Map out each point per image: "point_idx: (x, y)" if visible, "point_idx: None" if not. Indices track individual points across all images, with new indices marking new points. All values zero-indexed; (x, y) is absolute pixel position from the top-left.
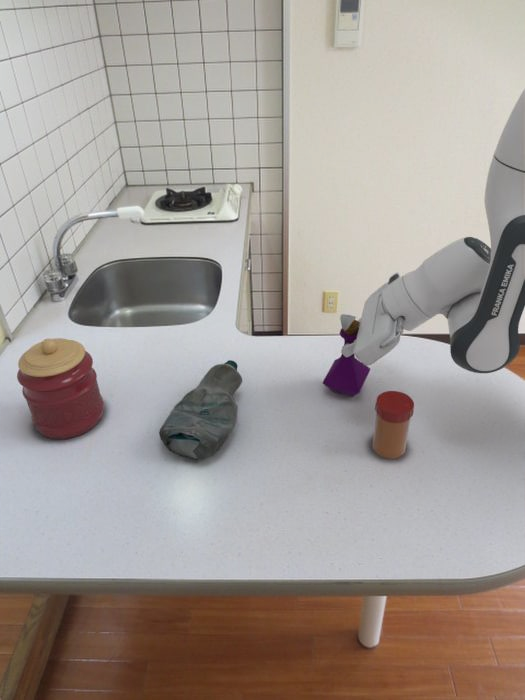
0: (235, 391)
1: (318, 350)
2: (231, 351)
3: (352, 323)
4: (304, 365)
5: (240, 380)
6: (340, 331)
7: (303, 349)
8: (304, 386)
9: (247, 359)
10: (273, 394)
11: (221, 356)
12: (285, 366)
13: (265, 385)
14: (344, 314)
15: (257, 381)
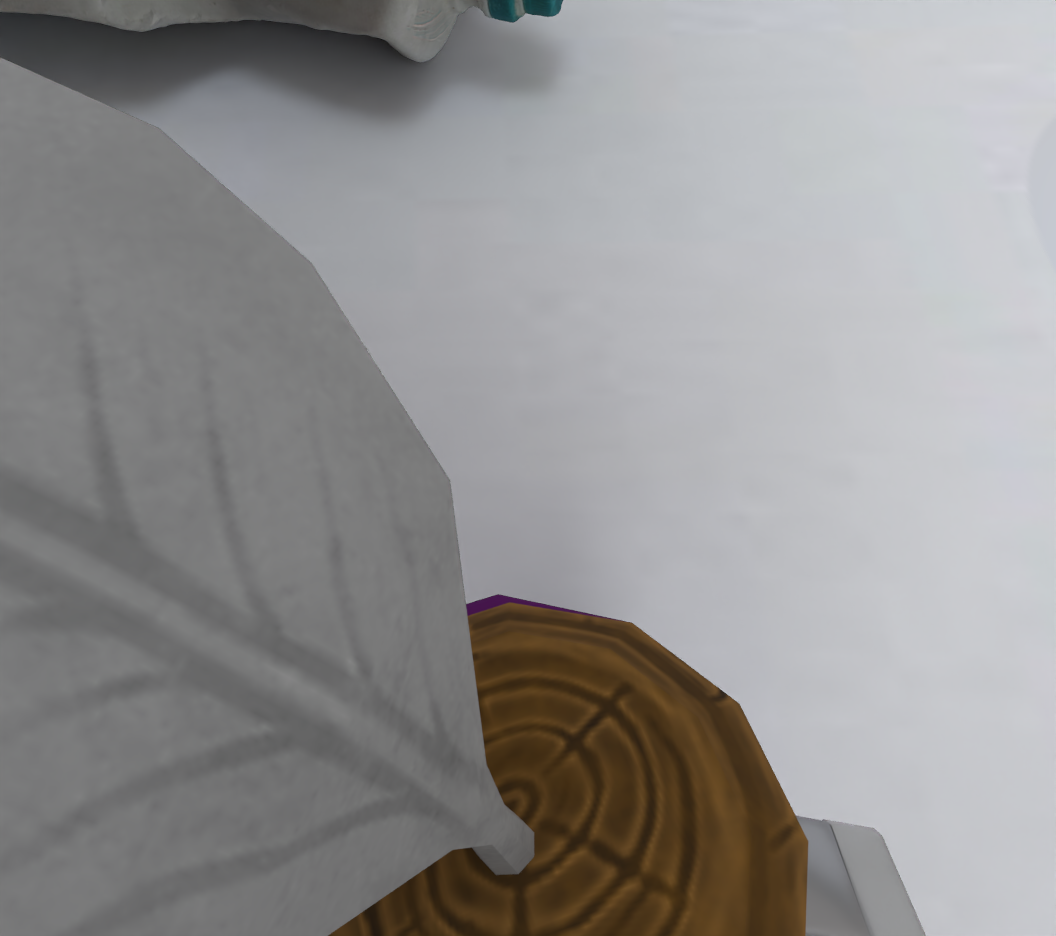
0: (287, 19)
1: (1042, 644)
2: (862, 64)
3: (468, 897)
4: (784, 518)
5: (354, 5)
6: (507, 601)
7: (1019, 514)
8: (487, 513)
9: (789, 147)
10: (384, 300)
11: (793, 20)
12: (745, 377)
13: (492, 252)
14: (250, 307)
15: (537, 206)
